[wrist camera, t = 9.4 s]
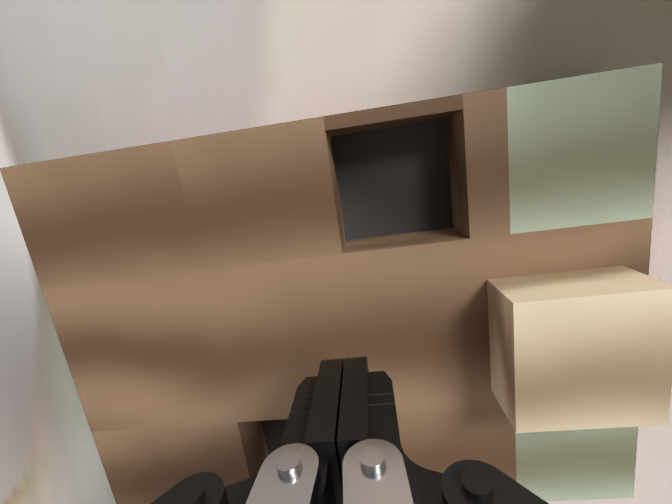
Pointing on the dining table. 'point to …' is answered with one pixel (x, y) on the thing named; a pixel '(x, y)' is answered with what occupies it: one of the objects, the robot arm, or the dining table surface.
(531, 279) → the block
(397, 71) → the dining table surface
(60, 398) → the dining table surface
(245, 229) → the board
